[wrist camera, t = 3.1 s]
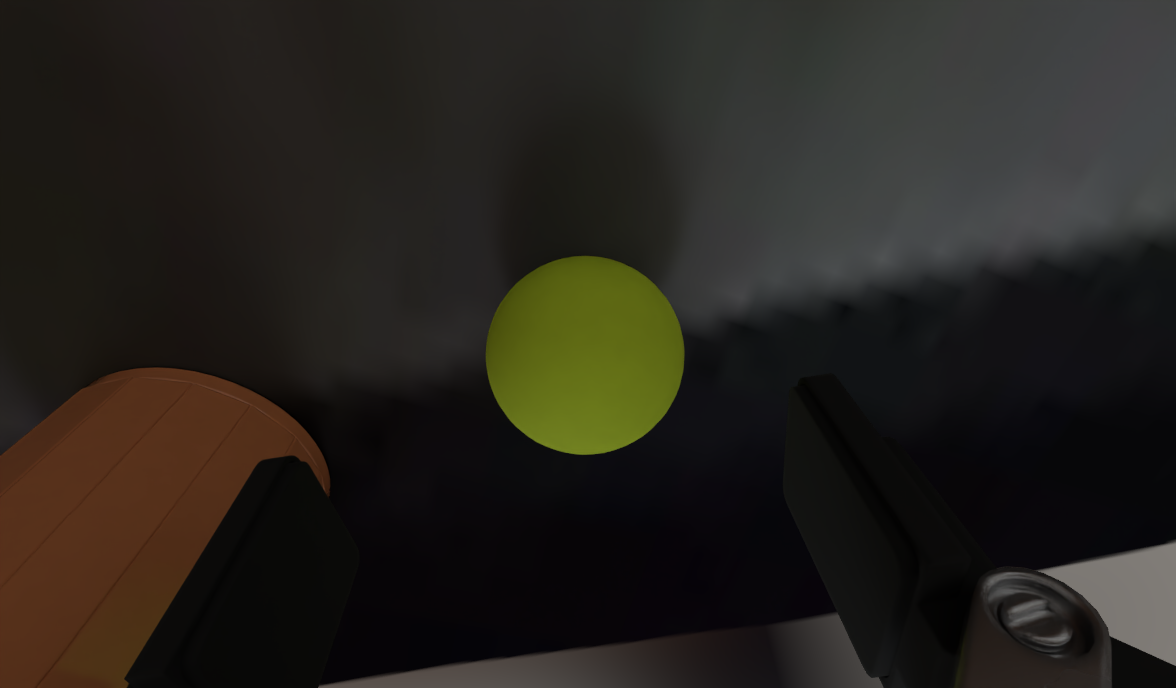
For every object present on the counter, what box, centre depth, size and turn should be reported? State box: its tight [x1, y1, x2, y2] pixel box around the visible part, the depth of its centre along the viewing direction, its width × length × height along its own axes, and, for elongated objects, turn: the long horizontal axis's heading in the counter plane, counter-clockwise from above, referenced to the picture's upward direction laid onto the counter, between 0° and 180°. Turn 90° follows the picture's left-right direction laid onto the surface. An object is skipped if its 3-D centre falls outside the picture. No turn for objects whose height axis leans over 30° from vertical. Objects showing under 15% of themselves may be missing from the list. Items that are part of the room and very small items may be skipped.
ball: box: [486, 256, 684, 455], centre depth 14 cm, size 5×5×5 cm
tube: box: [0, 367, 330, 688], centre depth 14 cm, size 8×8×13 cm
